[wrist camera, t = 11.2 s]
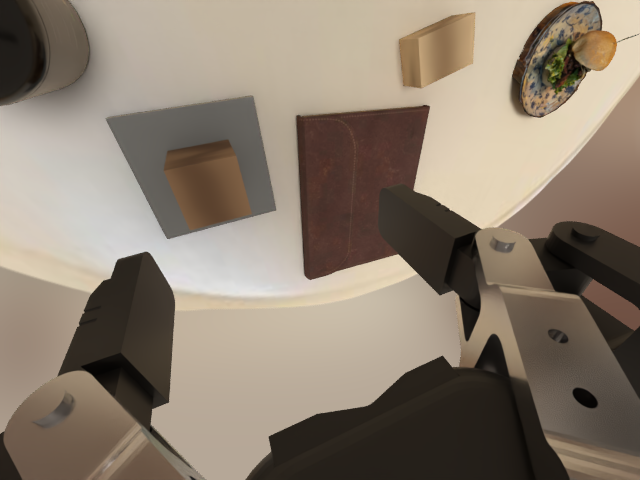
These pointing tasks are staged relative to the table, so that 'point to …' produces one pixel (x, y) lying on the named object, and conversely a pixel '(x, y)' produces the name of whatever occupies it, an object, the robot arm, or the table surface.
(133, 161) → the coaster
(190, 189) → the walnut block
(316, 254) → the notebook
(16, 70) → the supplement bottle
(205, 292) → the table surface
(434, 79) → the oak block
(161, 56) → the table surface
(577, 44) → the burger
